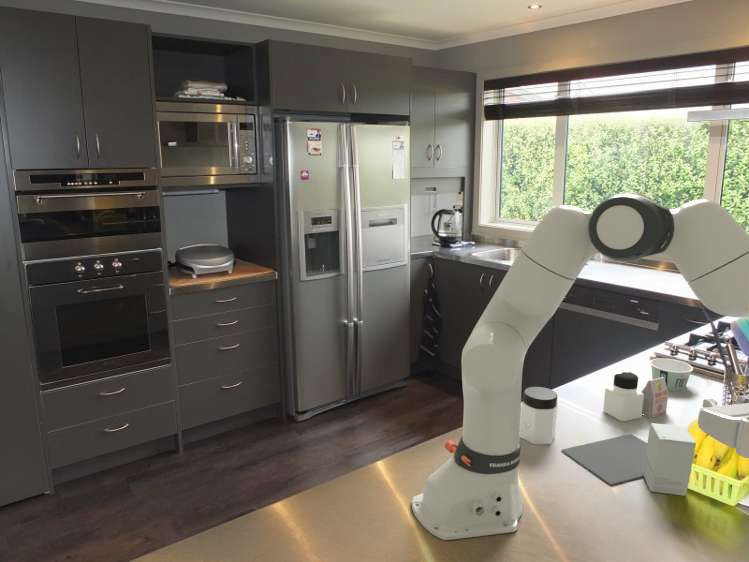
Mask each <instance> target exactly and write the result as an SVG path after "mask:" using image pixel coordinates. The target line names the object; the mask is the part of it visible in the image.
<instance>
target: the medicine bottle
mask: <svg viewBox="0 0 749 562" xmlns="http://www.w3.org/2000/svg"><path fill="white" fill-rule="evenodd" d="M638 385H639V377H638V375H637V374H635V373H633V372H631V371H624V370H623V371H617V372H615V373H614V374H613V384H612V386H608V387H605V389H604V398H603V409H602V412H604V413H605V412H606V413H605V414H607V413H608V414H607V415H609V414H610V415H609V416H611V417H612V416H613V417H612V418H614V419H616V420H617V421H619V420H620V422H621V421H622V422H628V421H633V420H638V419H641V418H642V415H643V414H642V408H643V400H644V394H643V393H641V392H642V391H639V390H638ZM637 418H638V419H637ZM632 419H633V420H632ZM627 420H628V421H627ZM622 422H621V423H622Z"/></svg>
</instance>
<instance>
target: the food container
mask: <svg viewBox="0 0 749 562" xmlns="http://www.w3.org/2000/svg"><path fill="white" fill-rule="evenodd" d="M649 364H650V365H651V376H652V377H651V378H652V379H651V380H653V379H657V378H661V377H665V381H666V386H667V389H670V390H669V391H675V390H678V391H683V390H685V389H686V387H687V384H688V381H689V378H690V375H691V374H692V373H691V372H693V371H694V367H693V366H692V365H691V364H689V363H687V362H684V361H682V360H679V359H673V358H663V357H662V358H660V357H659V358H653V359H651V360H650V361H649Z"/></svg>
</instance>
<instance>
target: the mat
mask: <svg viewBox="0 0 749 562" xmlns="http://www.w3.org/2000/svg"><path fill="white" fill-rule="evenodd" d="M647 443H648V442H646V441H644V440H643V439H640V438H639V437H637V436H635V435H633V434H632V433H629V434H625V435H620V436H615V437H611V438H607V439H603V440H598V441H593V442H589V443H585V444H581V445H577V446H572V447H568V448H563V449H561V452H562V453H563V452H564V453H563V454H565V455H567V456H568V457H569V458H571V459H572V460H573V461H575V462H576V463H577V464H579V465H580V466H581V467H583V468H584V469H586V470H588V471H589V472H590V473H591V474H593V475H594V476H596V477H598V478H599V479H600V480H601V481H603V482H605V484H607V485H608V486H610V487H612V486H615V485H618V484H623V483H627V482H631V481H634V480H637V479H642V478H644V475H643V473H642V472H643V467H644V461H645V455H646V449H647Z"/></svg>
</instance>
